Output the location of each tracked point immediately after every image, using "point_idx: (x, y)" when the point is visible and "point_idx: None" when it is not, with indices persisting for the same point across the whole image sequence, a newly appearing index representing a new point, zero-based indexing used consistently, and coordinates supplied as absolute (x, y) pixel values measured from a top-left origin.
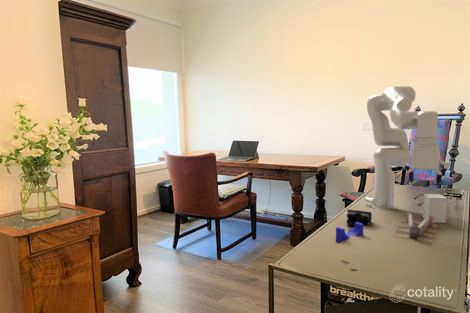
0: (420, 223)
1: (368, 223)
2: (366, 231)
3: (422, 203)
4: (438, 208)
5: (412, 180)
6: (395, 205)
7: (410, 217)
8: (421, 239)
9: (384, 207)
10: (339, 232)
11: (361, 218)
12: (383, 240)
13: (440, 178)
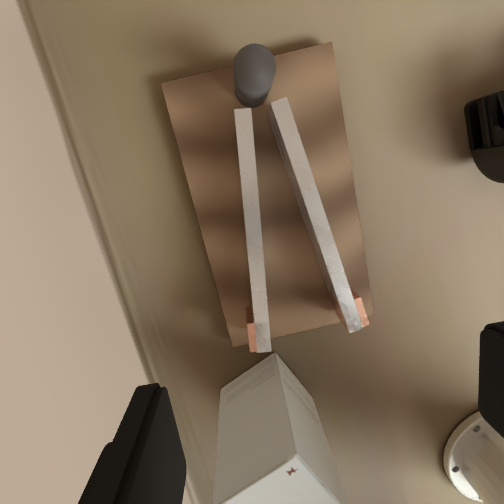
0: (256, 185)
1: (486, 103)
2: (460, 72)
3: None
4: (247, 428)
5: (493, 365)
6: (458, 486)
7: (329, 251)
8: (218, 97)
9: (490, 428)
10: None
11: None
12: (358, 6)
13: (87, 493)
